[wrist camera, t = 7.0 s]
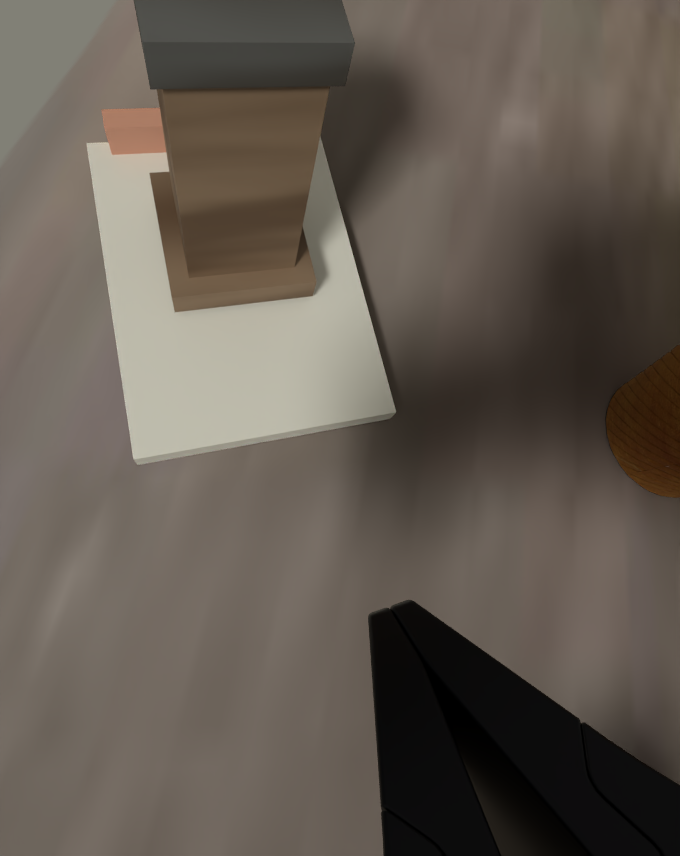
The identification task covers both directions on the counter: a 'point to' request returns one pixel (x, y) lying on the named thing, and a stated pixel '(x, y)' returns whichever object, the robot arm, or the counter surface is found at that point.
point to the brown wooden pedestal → (240, 139)
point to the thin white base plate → (228, 322)
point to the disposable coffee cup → (649, 426)
